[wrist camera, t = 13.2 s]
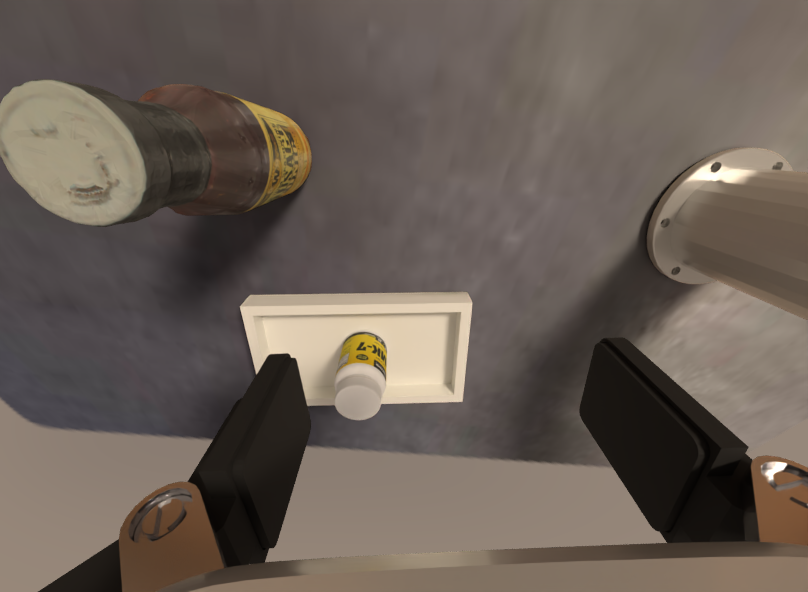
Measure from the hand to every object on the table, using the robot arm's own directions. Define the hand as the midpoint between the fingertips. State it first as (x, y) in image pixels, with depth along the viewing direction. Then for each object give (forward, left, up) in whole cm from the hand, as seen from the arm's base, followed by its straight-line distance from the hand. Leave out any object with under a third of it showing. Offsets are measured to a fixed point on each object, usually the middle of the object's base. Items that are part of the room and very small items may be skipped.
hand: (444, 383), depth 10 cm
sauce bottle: (+11, -6, -23) cm, 26 cm away
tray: (+5, +14, -22) cm, 27 cm away
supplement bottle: (+5, +13, -22) cm, 26 cm away
